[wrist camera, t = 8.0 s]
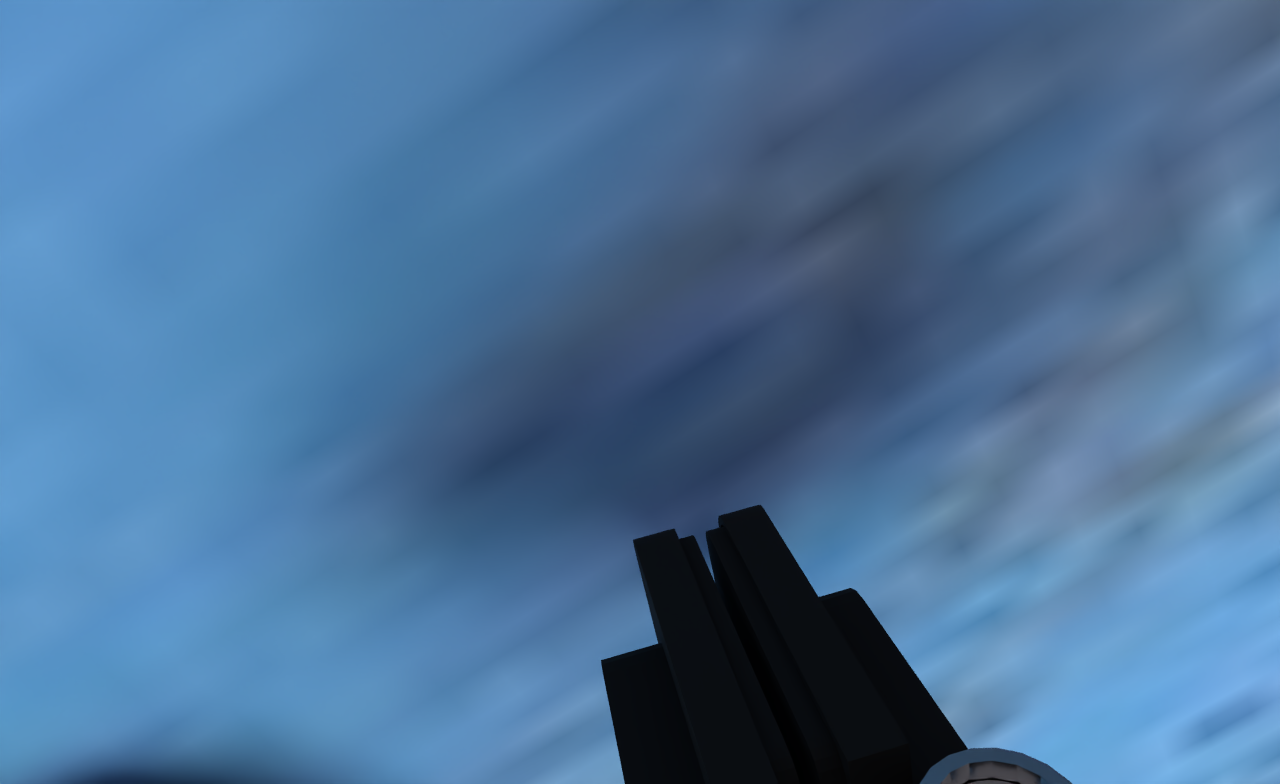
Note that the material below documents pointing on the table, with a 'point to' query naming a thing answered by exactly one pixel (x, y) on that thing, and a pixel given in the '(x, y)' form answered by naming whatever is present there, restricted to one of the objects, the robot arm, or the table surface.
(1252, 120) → the table surface
